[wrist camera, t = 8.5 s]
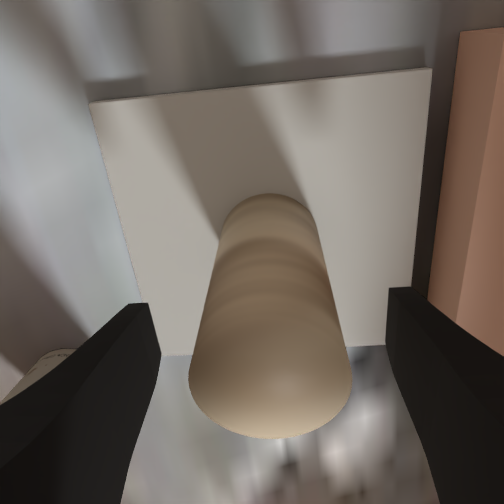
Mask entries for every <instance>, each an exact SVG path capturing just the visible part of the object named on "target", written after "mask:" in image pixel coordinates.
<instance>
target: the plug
mask: <svg viewBox="0 0 504 504" xmlns="http://www.w3.org/2000/svg"><path fill="white" fill-rule="evenodd" d="M188 381H189V388H190V391H191V394H192V396H193V398H194V400H195V402H196V404H197V405H198V407H199V408H200V409H201V410H202V411H203V413H204V414H205V415H206V416H208V417H209V418H210V419H211V420H212V421H214V422H215V423H217V424H218V425H220V426H222V427H224V428H226V429H228V430H230V431H233V432H235V433H238V434H241V435H245V436H249V437H255V438H264V439H279V438H288V437H294V436H298V435H302V434H305V433H308V432H311V431H313V430H315V429H317V428H319V427H321V426H323V425H324V424H326V423H327V422H329V421H330V420H331V419H332V418H334V417H335V416H336V415H337V414H338V413H339V412H340V411H341V409H342V408H343V406H344V405H345V404H346V402H347V400H348V397H349V395H350V392H351V388H352V372H351V368H350V363H349V359H348V355H347V351H346V347H345V342H344V338H343V334H342V330H341V326H340V322H339V317H338V313H337V309H336V305H335V301H334V297H333V292H332V288H331V284H330V280H329V276H328V272H327V267H326V263H325V259H324V255H323V251H322V247H321V242H320V238H319V234H318V230H317V226H316V223H315V220H314V218H313V217H312V215H311V213H310V212H309V211H308V210H307V208H305V207H304V206H303V205H302V204H301V203H299V202H298V201H296V200H295V199H293V198H290V197H288V196H285V195H281V194H273V193H265V194H259V195H255V196H252V197H249V198H247V199H245V200H243V201H242V202H240V203H239V204H237V205H236V206H235V207H234V208H233V209H232V210H231V211H230V213H229V214H228V216H227V217H226V219H225V222H224V224H223V228H222V232H221V236H220V240H219V245H218V249H217V253H216V257H215V262H214V266H213V270H212V274H211V279H210V283H209V287H208V292H207V296H206V300H205V304H204V309H203V313H202V317H201V321H200V326H199V330H198V334H197V338H196V343H195V347H194V351H193V355H192V360H191V364H190V369H189V378H188Z"/></svg>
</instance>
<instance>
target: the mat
mask: <svg viewBox="0 0 504 504" xmlns="http://www.w3.org/2000/svg"><path fill="white" fill-rule="evenodd" d="M431 79H432V69H431V68H427V67H425V68H415V69H405V70H395V71H386V72H376V73H366V74H356V75H346V76H337V77H327V78H317V79H307V80H298V81H288V82H278V83H268V84H258V85H249V86H239V87H229V88H219V89H209V90H200V91H190V92H180V93H170V94H160V95H151V96H141V97H131V98H121V99H112V100H102V101H94V102H92V103H89V104H88V105H89V109H90V112H91V116H92V120H93V123H94V127H95V131H96V134H97V138H98V141H99V145H100V149H101V152H102V156H103V160H104V163H105V167H106V171H107V174H108V178H109V181H110V185H111V189H112V192H113V196H114V200H115V203H116V207H117V211H118V214H119V218H120V222H121V225H122V229H123V232H124V236H125V240H126V243H127V247H128V251H129V254H130V258H131V262H132V265H133V269H134V272H135V276H136V280H137V283H138V287H139V291H140V294H141V298H142V302H143V303H148V304H149V308H150V312H151V316H152V319H153V323H154V327H155V331H156V334H157V338H158V342H159V345H160V349H161V353H162V355H161V356H176V355H193V351H194V347H195V343H196V338H197V334H198V330H199V326H200V321H201V317H202V313H203V309H204V304H205V300H206V296H207V292H208V287H209V283H210V279H211V274H212V270H213V266H214V262H215V257H216V253H217V249H218V245H219V240H220V236H221V232H222V228H223V224H224V222H225V219H226V217H227V216H228V214H229V213H230V211H231V210H232V209H233V208H234V207H235V206H236V205H237V204H239V203H240V202H242V201H243V200H245V199H247V198H249V197H252V196H255V195H259V194H265V193H273V194H281V195H285V196H288V197H290V198H293V199H295V200H296V201H298V202H299V203H301V204H302V205H303V206H304V207H305V208H307V210H308V211H309V212H310V213H311V215H312V217H313V218H314V220H315V223H316V226H317V230H318V234H319V238H320V242H321V247H322V251H323V255H324V259H325V263H326V267H327V272H328V276H329V280H330V284H331V288H332V292H333V297H334V301H335V305H336V309H337V313H338V317H339V322H340V326H341V330H342V334H343V338H344V342H345V347H352V346H371V345H386V344H385V335H386V320H387V306H388V291H389V288H391V287H407V286H410V287H411V281H412V271H413V261H414V251H415V241H416V231H417V220H418V210H419V200H420V190H421V180H422V170H423V160H424V150H425V140H426V130H427V119H428V109H429V99H430V89H431Z"/></svg>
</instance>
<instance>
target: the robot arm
mask: <svg viewBox="0 0 504 504" xmlns="http://www.w3.org/2000/svg"><path fill="white" fill-rule="evenodd" d="M385 344H386V348H387V352H388V356H389V360H390V364H391V367H392V371H393V374H394V377H395V379H396V382H397V384H398V387H399V389H400V392H401V394H402V397H403V399H404V401H405V404H406V406H407V409H408V411H409V414H410V416H411V418H412V421H413V423H414V426H415V428H416V431H417V433H418V436H419V438H420V440H421V443H422V446H423V449H424V451H425V454H426V457H427V460H428V464H429V467H430V470H431V474H432V477H433V480H434V484H435V487H436V491H437V494H438V498H439V501H440V504H504V356H502V355H501V354H499V353H498V352H496V351H495V350H493V349H491V348H490V347H489V346H487V345H486V344H484V343H483V342H481V341H480V340H478V339H477V338H475V337H474V336H473V335H471V334H470V333H468V332H467V331H466V330H464V329H463V328H462V327H460V326H459V325H458V324H456V323H455V322H454V321H452V320H451V319H450V318H449V317H447V316H446V315H445V314H444V313H442V312H441V311H440V310H439V309H437V308H436V307H435V306H434V305H432V304H431V303H430V302H429V301H428V300H426V299H425V298H424V297H423V296H422V295H420V294H419V293H418V292H417V291H416V290H414V289H413V288H412V287H410V286H407V287H391V288H389V291H388V306H387V320H386V335H385ZM161 355H162V353H161V349H160V345H159V342H158V338H157V334H156V331H155V327H154V323H153V319H152V316H151V312H150V308H149V304H148V303H132V304H128V305H127V306H125V307H124V308H123V309H122V310H121V311H119V312H118V313H117V314H116V315H115V316H114V317H113V318H112V319H111V320H110V321H108V322H107V323H106V324H105V325H104V326H103V327H102V328H101V329H100V330H99V331H97V332H96V333H95V334H94V335H93V336H92V337H91V338H90V339H88V340H87V341H86V342H85V343H84V344H83V345H82V346H81V347H79V348H78V349H77V350H76V351H74V352H73V353H72V354H71V355H70V356H68V357H67V358H66V359H65V360H63V361H62V362H61V363H60V364H59V365H57V366H56V367H55V368H54V369H52V370H51V371H50V372H48V373H47V374H46V375H44V376H43V377H42V378H40V379H39V380H37V381H36V382H35V383H33V384H32V385H30V386H29V387H27V388H26V389H25V390H23V391H22V392H20V393H19V394H17V395H16V396H14V397H12V398H11V399H9V400H7V401H6V402H4V403H2V404H1V405H0V504H120V503H121V498H122V494H123V490H124V485H125V481H126V476H127V472H128V468H129V464H130V461H131V457H132V454H133V451H134V448H135V445H136V442H137V439H138V436H139V433H140V430H141V427H142V424H143V421H144V418H145V415H146V412H147V409H148V406H149V403H150V400H151V397H152V394H153V391H154V388H155V385H156V381H157V376H158V371H159V366H160V360H161Z"/></svg>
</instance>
